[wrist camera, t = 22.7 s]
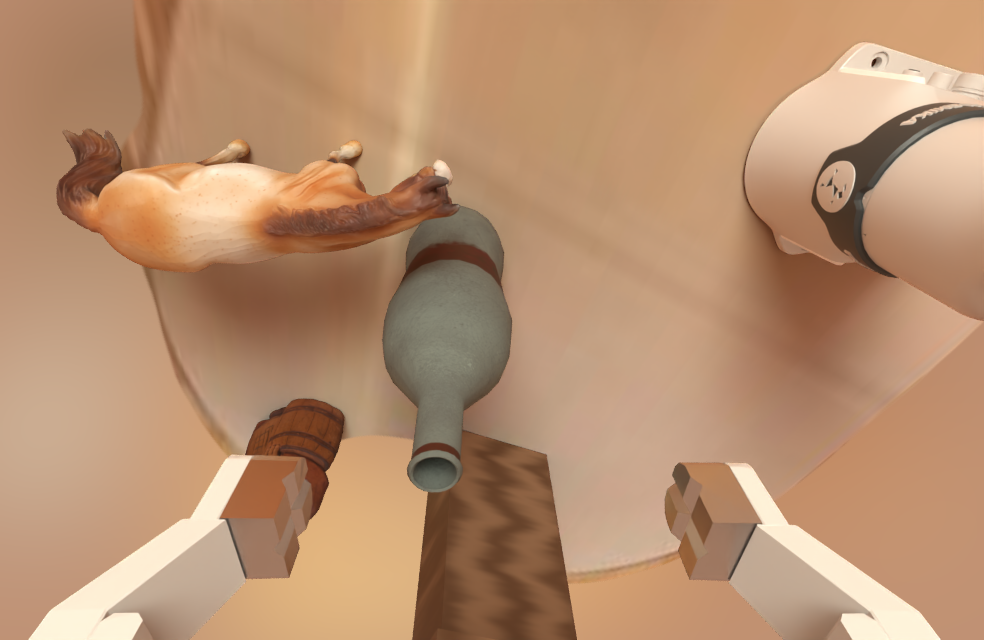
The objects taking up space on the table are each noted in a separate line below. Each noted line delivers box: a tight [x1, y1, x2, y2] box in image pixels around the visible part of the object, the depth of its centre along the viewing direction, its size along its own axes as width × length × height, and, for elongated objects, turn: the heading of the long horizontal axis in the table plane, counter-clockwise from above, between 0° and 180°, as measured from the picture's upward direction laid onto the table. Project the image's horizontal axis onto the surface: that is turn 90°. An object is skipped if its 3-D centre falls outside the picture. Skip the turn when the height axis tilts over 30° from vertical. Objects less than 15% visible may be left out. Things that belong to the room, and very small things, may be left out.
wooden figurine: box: [245, 399, 344, 520], centre depth 53 cm, size 12×6×18 cm, turn 118°
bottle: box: [382, 206, 512, 492], centre depth 37 cm, size 9×9×30 cm
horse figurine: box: [57, 129, 460, 272], centre depth 36 cm, size 31×8×21 cm, turn 89°
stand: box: [412, 430, 577, 640], centre depth 54 cm, size 14×10×26 cm
